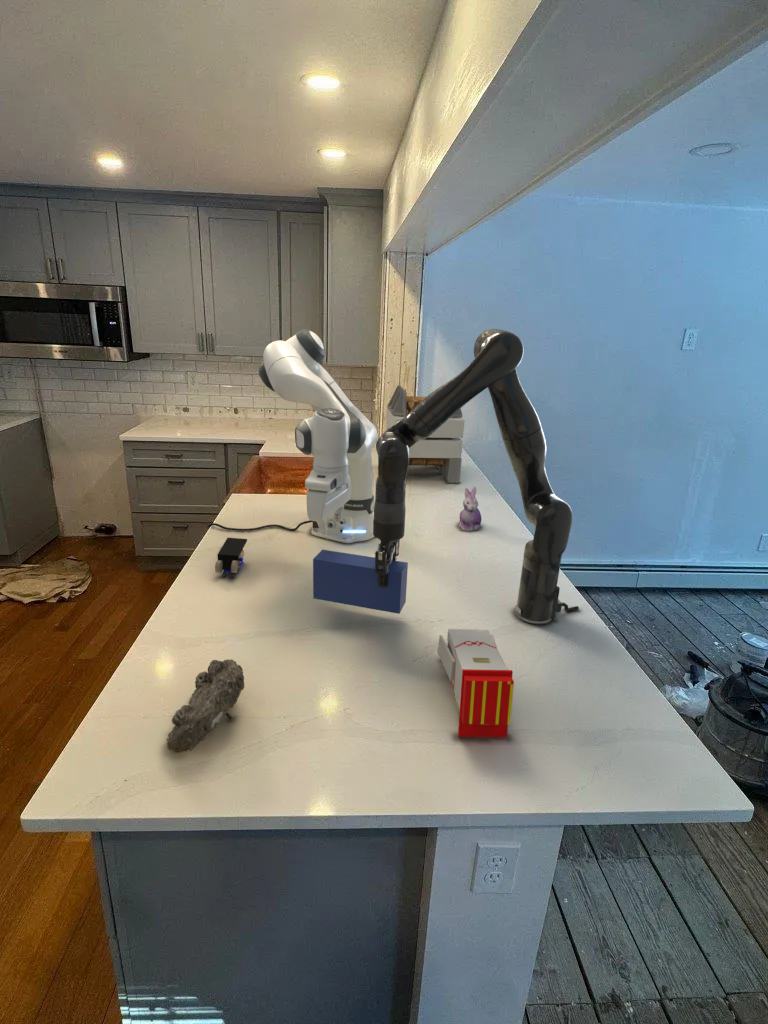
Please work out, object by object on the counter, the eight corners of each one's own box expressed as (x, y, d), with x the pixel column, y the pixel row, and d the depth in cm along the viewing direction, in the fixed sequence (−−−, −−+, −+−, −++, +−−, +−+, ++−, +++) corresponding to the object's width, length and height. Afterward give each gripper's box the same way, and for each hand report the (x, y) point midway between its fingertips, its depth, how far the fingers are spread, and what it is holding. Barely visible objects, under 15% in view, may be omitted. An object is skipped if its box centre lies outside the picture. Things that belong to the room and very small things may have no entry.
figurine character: (238, 584, 162) (249, 557, 175) (236, 562, 158) (247, 536, 172) (215, 584, 161) (227, 556, 175) (212, 561, 158) (225, 535, 171)
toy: (488, 613, 130) (523, 677, 101) (484, 667, 133) (517, 744, 104) (435, 612, 130) (455, 676, 101) (432, 666, 133) (451, 743, 103)
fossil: (192, 660, 117) (244, 628, 112) (224, 691, 120) (276, 661, 115) (142, 746, 98) (202, 712, 93) (182, 779, 101) (242, 748, 96)
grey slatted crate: (382, 463, 289) (386, 382, 275) (445, 464, 293) (451, 384, 279) (390, 482, 257) (394, 392, 243) (460, 483, 261) (468, 394, 247)
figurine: (467, 533, 203) (471, 493, 198) (451, 523, 211) (454, 485, 206) (488, 529, 207) (492, 490, 202) (471, 520, 215) (475, 482, 210)
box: (313, 598, 144) (312, 559, 140) (322, 587, 150) (322, 549, 146) (399, 613, 138) (401, 573, 135) (405, 602, 144) (407, 562, 140)
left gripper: (335, 464, 152) (335, 512, 157) (301, 484, 134) (302, 538, 138) (357, 466, 150) (356, 515, 155) (326, 487, 132) (326, 542, 137)
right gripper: (396, 529, 127) (393, 596, 133) (411, 509, 140) (408, 571, 146) (364, 525, 129) (363, 591, 134) (382, 506, 142) (380, 566, 147)
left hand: (330, 526), depth 147 cm, fingers open, 8 cm apart
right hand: (386, 580), depth 140 cm, fingers closed on box, 6 cm apart
